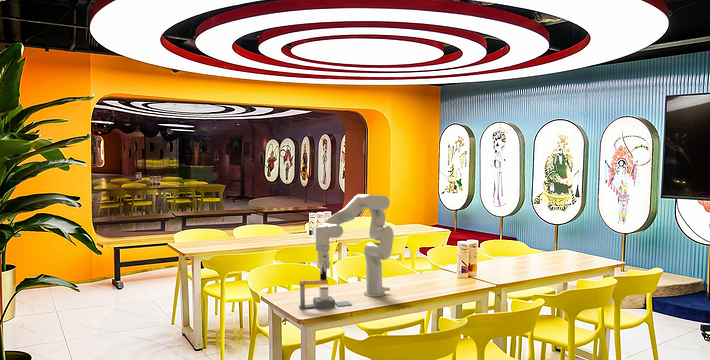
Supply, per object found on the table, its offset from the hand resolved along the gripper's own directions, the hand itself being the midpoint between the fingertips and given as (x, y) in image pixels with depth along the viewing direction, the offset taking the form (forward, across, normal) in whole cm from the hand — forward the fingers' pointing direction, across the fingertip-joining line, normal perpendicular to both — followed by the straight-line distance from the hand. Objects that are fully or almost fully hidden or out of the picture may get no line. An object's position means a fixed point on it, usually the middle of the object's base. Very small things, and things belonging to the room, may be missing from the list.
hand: (323, 280), depth 279 cm
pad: (+14, 0, -11) cm, 18 cm away
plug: (+14, 0, 0) cm, 14 cm away
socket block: (+14, 0, +4) cm, 15 cm away
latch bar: (+1, -2, +6) cm, 6 cm away
